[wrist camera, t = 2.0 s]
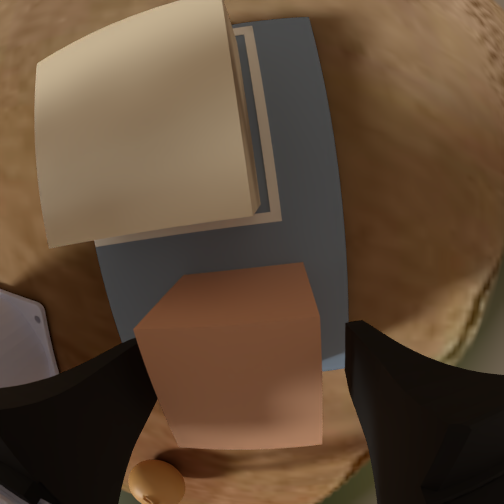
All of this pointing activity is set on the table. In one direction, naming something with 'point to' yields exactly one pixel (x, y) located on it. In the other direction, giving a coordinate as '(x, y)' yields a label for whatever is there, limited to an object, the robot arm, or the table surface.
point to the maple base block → (144, 127)
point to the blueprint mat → (270, 191)
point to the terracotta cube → (237, 359)
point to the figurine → (156, 483)
